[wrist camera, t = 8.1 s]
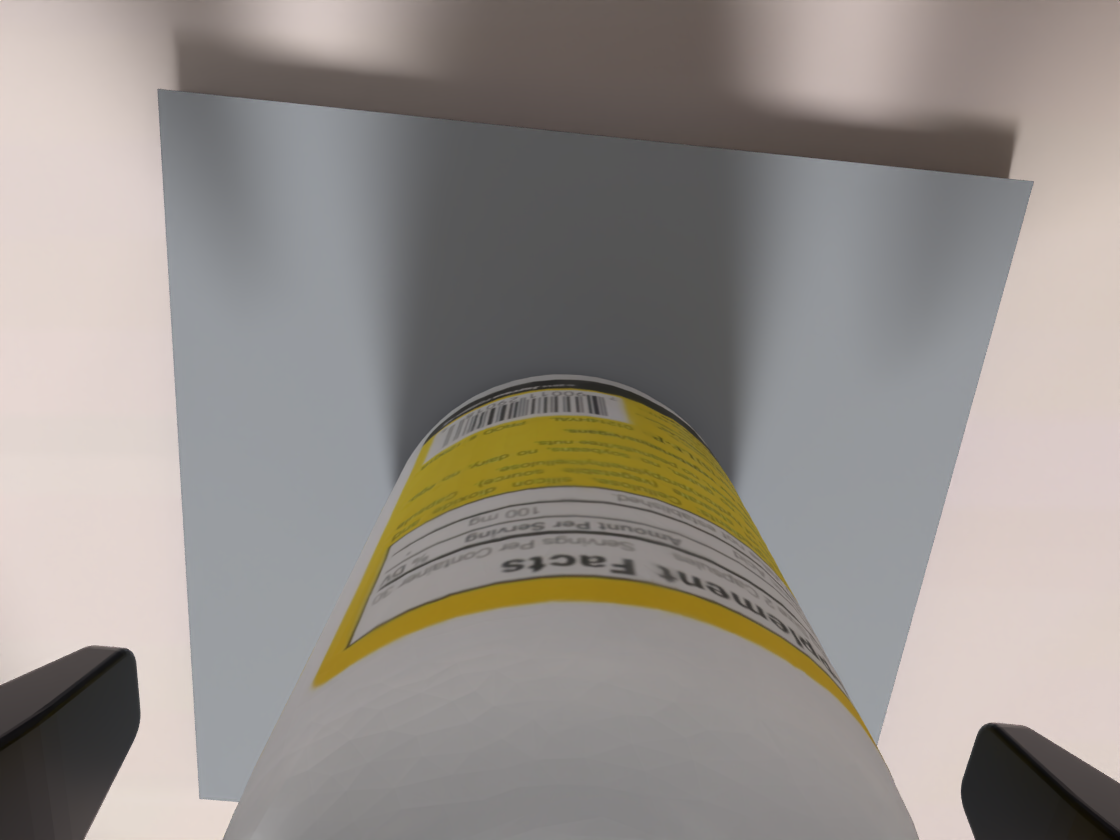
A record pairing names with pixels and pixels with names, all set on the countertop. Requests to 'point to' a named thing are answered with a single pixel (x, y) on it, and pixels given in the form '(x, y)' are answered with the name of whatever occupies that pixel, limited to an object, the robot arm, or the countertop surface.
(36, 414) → the countertop surface
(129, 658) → the robot arm
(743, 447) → the mat
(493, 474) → the supplement bottle
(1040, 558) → the countertop surface
